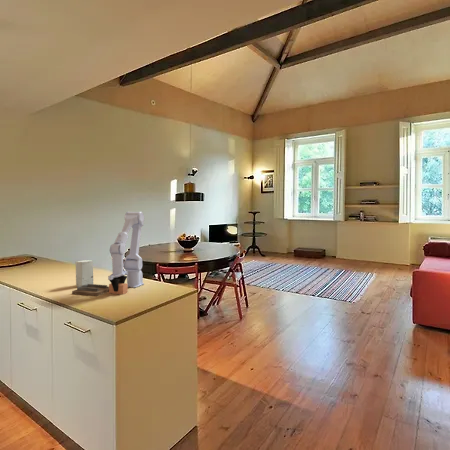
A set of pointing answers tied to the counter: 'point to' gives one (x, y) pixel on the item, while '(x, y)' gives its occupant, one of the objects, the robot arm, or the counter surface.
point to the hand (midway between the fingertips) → (118, 290)
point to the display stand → (91, 289)
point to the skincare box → (84, 272)
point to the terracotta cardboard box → (119, 288)
